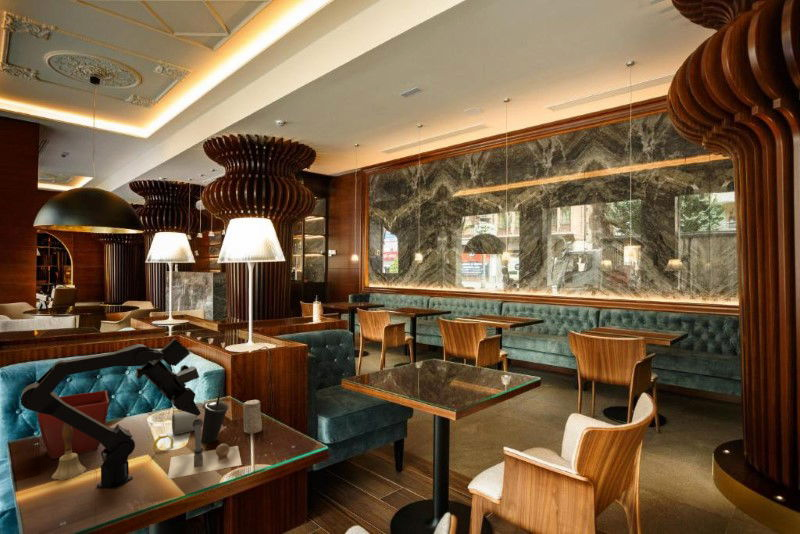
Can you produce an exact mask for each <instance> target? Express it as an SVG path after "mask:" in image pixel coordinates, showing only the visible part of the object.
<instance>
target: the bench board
mask: <svg viewBox="0 0 800 534" xmlns="http://www.w3.org/2000/svg"><path fill="white" fill-rule="evenodd" d="M240 455H241V454H240V450H239V446H238V445H234V446H229V453H228V454H227V459H223V460H218V455H217V454H216V449H211V450H205V451H203V445H201V453H200V454H195V447H194V448H193V453H189V454H182V455H177V456H171V457H170V463H169V467H168V468H169V470H168V472H167V480H171V479H177V478H181V477H186V476H192V475H197V474H202V473H206V472H207V473H208V472H212V471H213V472H214V471H217V470H222V469H228V468H233V467H238V466H242V459H241V456H240Z"/></svg>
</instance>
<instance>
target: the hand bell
mask: <svg viewBox="0 0 800 534" xmlns="http://www.w3.org/2000/svg"><path fill="white" fill-rule="evenodd" d="M72 434H73V430H72V426H70V425H68V424H66V423H65V422H64V425H63V428H62V437H63V440H64V442H65V455H63V456H62V457H60V458H59V459H58V467H57V469H56V470H55V472H54V473H53V474H52V476H51V479H52V478H54V479H65V480H68V479H67V478H70V479H72V478H71V477H73V478H75V477H74V476H76V477H78V476H80V475H82V474H84V473H85V472H86V470H87V469H86V466H84V465H83V464H81V462H80V459H79V456H78V454H76V453H72V448H71V439H72ZM84 471H85V472H84ZM83 472H84V473H83ZM81 473H82V474H81ZM79 474H80V475H79ZM77 475H78V476H77Z"/></svg>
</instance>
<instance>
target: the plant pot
mask: <svg viewBox="0 0 800 534" xmlns="http://www.w3.org/2000/svg"><path fill="white" fill-rule="evenodd" d="M58 397H59V398H60V399H61V400H62V401H63V402H65V403H67V404H69V405H70V406H72V407H74V408H76V409H77V410H79V411H81V412H83V413H84V414H86V415H88V416H90V417H91V418H93V419H95V420H97V421H98V422H100V423H102V424H104V425H105V426H106V423H107V418H108V412H109V406H110V405H109V404H110V401H109V400H110V399H109V396H108V391H107V390H100V391H93V392H84V393H78V394H71V395H65V396H64V395H63V396H58ZM36 414H37V421H38V425H39V431H40V435H41V438H42V441H43V444H44V448H45V449H46V452H47V454H48V456H49V458H50V459H51V460H55V459H58V458H59V459H60V457H62V456H63V455H65V442H64V440H63V437H62V428H63V425H64V422H63V421H61V420H59V419H57V418H55V417H54V416H51V415H46V414H41V413H38V412H36ZM72 430H73V434H72V439H71V448H72V453H76V454H77V455H78V454H85V453H89V452H94V451H97V450H98V449H99V447H100V445H101V443H100V442H99V441H97V440H96V439H94V438H92V437H90V436H88V435H86V434H85V433H83V432H81V431H79V430H77V429H76V428H74V427H72Z"/></svg>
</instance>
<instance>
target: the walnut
mask: <svg viewBox="0 0 800 534" xmlns="http://www.w3.org/2000/svg"><path fill="white" fill-rule="evenodd" d="M229 447H230V445H229V444H227V443H220V444H219V445H217V446H216V449H215V450H216V454H217V455H218V460H223V459H227V454H228V453H229Z"/></svg>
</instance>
